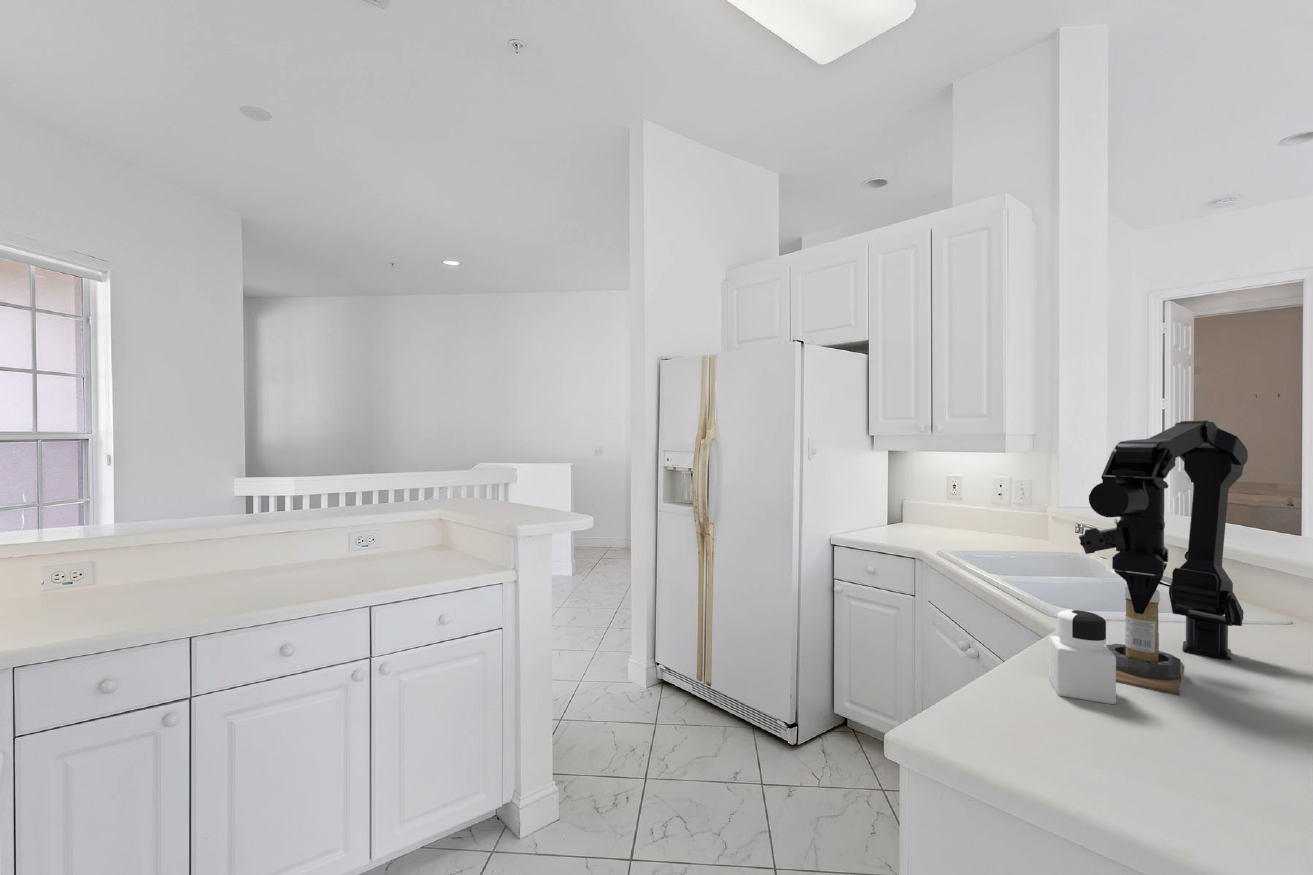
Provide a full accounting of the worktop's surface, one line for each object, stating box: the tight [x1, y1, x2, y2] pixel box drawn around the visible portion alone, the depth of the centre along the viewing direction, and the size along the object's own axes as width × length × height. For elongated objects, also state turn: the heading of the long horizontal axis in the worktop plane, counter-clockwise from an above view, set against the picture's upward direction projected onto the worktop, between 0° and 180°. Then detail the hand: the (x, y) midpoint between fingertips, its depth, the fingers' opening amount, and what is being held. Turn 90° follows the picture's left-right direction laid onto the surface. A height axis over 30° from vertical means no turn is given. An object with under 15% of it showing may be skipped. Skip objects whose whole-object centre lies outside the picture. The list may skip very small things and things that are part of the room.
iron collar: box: [1105, 643, 1182, 680], centre depth 99 cm, size 10×10×2 cm
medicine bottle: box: [1048, 609, 1117, 705], centre depth 90 cm, size 7×7×12 cm
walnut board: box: [1116, 661, 1184, 697], centre depth 99 cm, size 18×10×1 cm, turn 137°
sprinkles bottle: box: [1124, 585, 1161, 662], centre depth 99 cm, size 5×5×13 cm
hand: (1141, 608), depth 99 cm, fingers open, 9 cm apart
